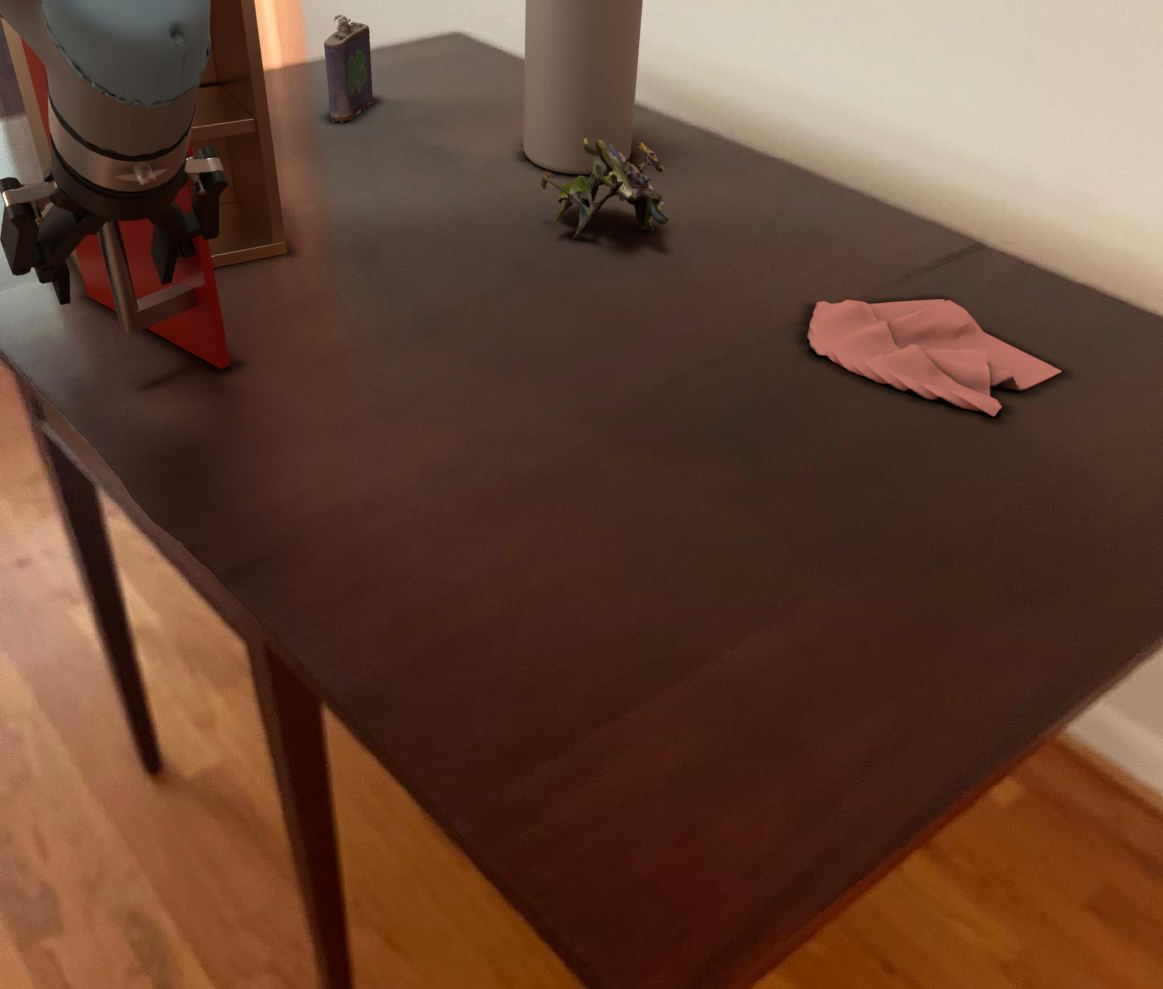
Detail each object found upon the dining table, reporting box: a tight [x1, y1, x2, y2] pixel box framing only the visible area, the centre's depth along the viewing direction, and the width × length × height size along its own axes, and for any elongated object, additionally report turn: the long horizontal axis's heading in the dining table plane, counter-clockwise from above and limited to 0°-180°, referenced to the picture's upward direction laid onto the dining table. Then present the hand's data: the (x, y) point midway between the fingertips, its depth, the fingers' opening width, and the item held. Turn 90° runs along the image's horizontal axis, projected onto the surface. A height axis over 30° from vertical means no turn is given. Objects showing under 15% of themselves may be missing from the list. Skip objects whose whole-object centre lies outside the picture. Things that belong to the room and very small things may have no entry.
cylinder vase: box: [522, 0, 644, 175], centre depth 123 cm, size 12×12×25 cm
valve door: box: [20, 37, 231, 370], centre depth 87 cm, size 7×18×24 cm, turn 52°
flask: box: [323, 14, 374, 124], centre depth 136 cm, size 9×3×11 cm, turn 163°
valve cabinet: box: [0, 0, 288, 279], centre depth 101 cm, size 12×18×24 cm, turn 121°
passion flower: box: [540, 138, 670, 240], centre depth 114 cm, size 11×11×12 cm
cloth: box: [806, 298, 1063, 418], centre depth 100 cm, size 20×22×2 cm
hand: (111, 277), depth 87 cm, fingers open, 7 cm apart
